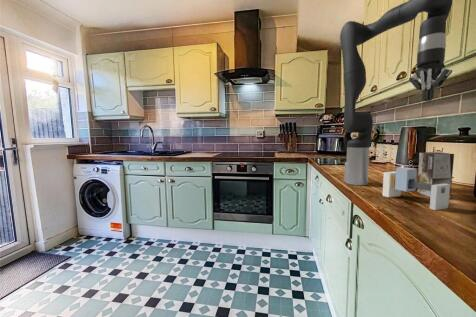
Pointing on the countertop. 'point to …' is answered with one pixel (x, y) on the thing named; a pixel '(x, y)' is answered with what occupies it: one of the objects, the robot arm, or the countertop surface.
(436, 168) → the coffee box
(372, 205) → the countertop surface
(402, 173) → the notched grey block
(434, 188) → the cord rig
